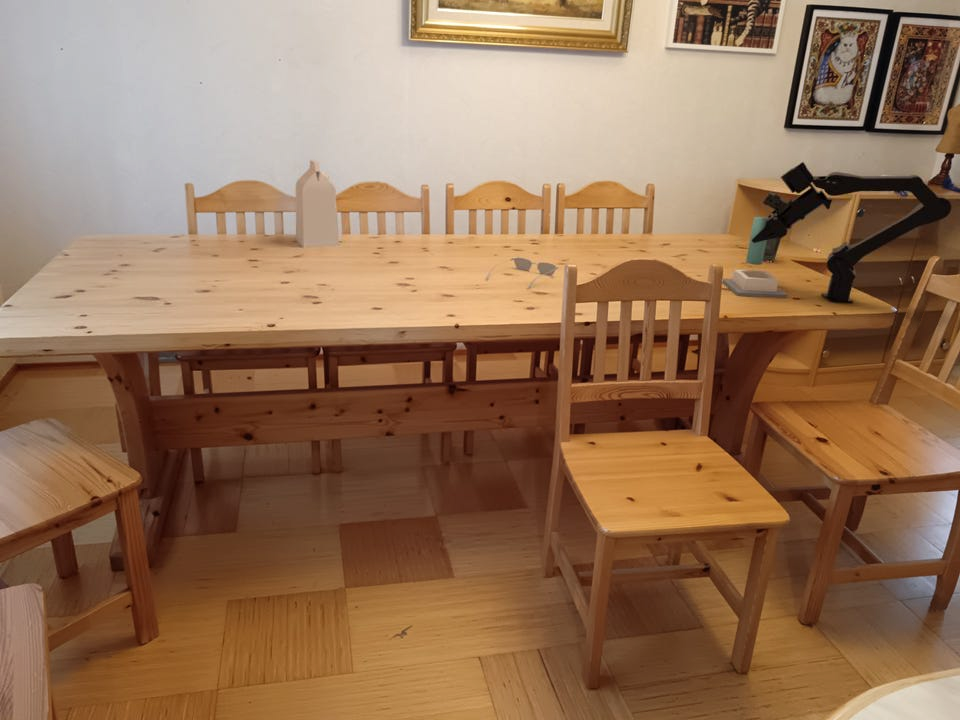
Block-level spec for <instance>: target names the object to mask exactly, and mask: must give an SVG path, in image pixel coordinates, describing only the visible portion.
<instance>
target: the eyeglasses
mask: <svg viewBox="0 0 960 720" xmlns="http://www.w3.org/2000/svg"><path fill="white" fill-rule="evenodd" d="M508 261H509V262H510V261H514V265H515V267H516V269H517V270H522V271H527V272H528V271H530V269H531V268H532V266H533V264H534V265H537V266H536V267H537V271H538V272H539V273H540V274H539V275H537V276H536V277H535V278H534V279H533V280H532V281H531V282H530V283H529V285H528V286H527V287H526V288H525V290H526V291H528V290H530V289H531V287H532V286H533V284H534V282H535V281H536V280H537V279H538V278H539V277H541V276H543V275H545V276H546V275H547V276H552V277H553V275H554V274H555V272H556V270H559V266H556V264H554V263H549V262H538V263H537V262H532V261H531V260H530V259H527V258H525V257H524V258H523V257H515V258H513V257H512V258H510V259H509V260H506V261H503V262H500V263H498V264H495V265H494V266H493V267H492V268H491V269H490V271H489V272H488V274H487V276H486V278H485V280H484V281H485V282H488V281H489V278H490V274H491V272H492V271H493V270H494V269H495V267H497V266H499V265H502V264H504V263H506V262H508Z"/></svg>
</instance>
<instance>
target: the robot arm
mask: <svg viewBox="0 0 960 720" xmlns="http://www.w3.org/2000/svg"><path fill="white" fill-rule="evenodd" d="M780 179H781V180H782V181H783V183H784V184H785V186H786V187H787V188H788V189H789V191H790V193H792V194H794V193H796V194H798V196H797V197H796V198H794V199H789V200H786V199H784V198H783V197H782V196H781V195H778V193H774V192H772V191H771V190H770V191H769V192H768V193H767V195H766V197H765V198H764V199H763V200H762V204H763V205H765V206H768V207H769V208H771V209H772V210H771V211H770V213H769V214H768V216H767V217H768V218H769V219H767V220H766V225H765V227H764V228H763V229H762V230H761V231H760V232H759V233H758V234H757V235H756V236H755V237H754V238H753V239H752V242H753V243H756V242H760V241H764V240H769V239H773V238H780V239H781V240H782V238H784V237H785V236H787V234H788V231H789V230H790V229H791V228H792V227H793V226H794V225H795V224H797V223H798V222H799V221H803V220H804V219H806V217H807V216H808V215H810V214H811V213H813V212H814V211H815V210H817V209H819V208H821V206H824V207H825V208H826V209H827V210H830V209H831V204H832V202H833V198H828V197H827V196H830V197H831V196H832V197H834V196H835V197H837V196H843V195H849V194H853V193H859V192H910V193H911V194H912V195H913V196H914V198H916V200H918V201H919V203H918V204H917V206H915V207H914V208H913V209H911V211H910V212H909V213H907V214H906V215H904V216H902V217H900V218H899V219H897V220H894V221H893V222H892V223H889V224H888V225H887V226H885V227H883V228H882V229H880V230H878V231H875V232H874V233H873V234H870V235H869V236H867V237H865V238H863V239H862V240H860V241H857V242H856V243H852V244H848V242H847V241H844V242H843V243H842V244H840V245H839V246H837V247H835V248H832V250H831V252H830V253H829V254H828V256H827V259H826V267H827V270H828V271H829V272H830V273H831V276H830V280H829V283H828V287H827V291H826V293H821V296H822V297H824V298H825V299H827V300H828V301H830V302H835V303H854V300H853V299H851V298H850V295H851V292H852V288H853V283H854V280H855V279H856V269H855V267H854V266H856V264H858V263H859V262H860V261H861V260H862V259H863V258H865V257H866V256H868V255H869V254H871V253H873V252H874V251H877V250H878V249H880V248H882V247H883V246H885V245H887V244H889V243H891V242H892V241H895V240H896V239H898V238H900V237H902V236H903V235H905V234H907V233H909V232H911V231H913V230H914V229H916V228H919V227H923V226H926V225H931V224H933V223H936V222H938V221H941V220H944V219H945V218H947V217H948V216H949V215H950V213H951V210H952V204H951V202H950V201H949V199H948V198H947V197H946V196H945V195H942V194H939V193H935V192H934V191H933V190H932V189H931V188H930V187H929V186H928V184H926V183H925V182H924V180H923V178H922V177H920V176H919V175H917V174H911V175H873V176H872V175H867V176H865V175H864V176H863V175H857V174H852V173H846V172H840V171H833V172H831V173H829V174H828V175H822V176H821V175H820V176H819V175H817V176H816V175H815V176H814V175H813V174H812V172H811V171H810V170H809V168H808V167H807V165H806V163H805V162H804V161H802V162H801V163H799V164H798V165H796V166H794V167H792V168H790V169H789V170H788V171H786V172H785V173H783V174H782V175H781V176H780ZM809 187H810V188H809ZM807 188H809V189H807ZM816 188H818V189H821V190H819V191H818V190H817V189H816ZM806 189H807V190H806ZM805 190H806V191H805ZM804 191H805V192H804ZM823 191H824V192H825V193H826V194H827V195H826V194H825V193H824V192H823ZM802 192H803V193H802ZM799 194H800V195H799ZM773 214H774V215H773ZM771 215H773V216H771Z"/></svg>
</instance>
